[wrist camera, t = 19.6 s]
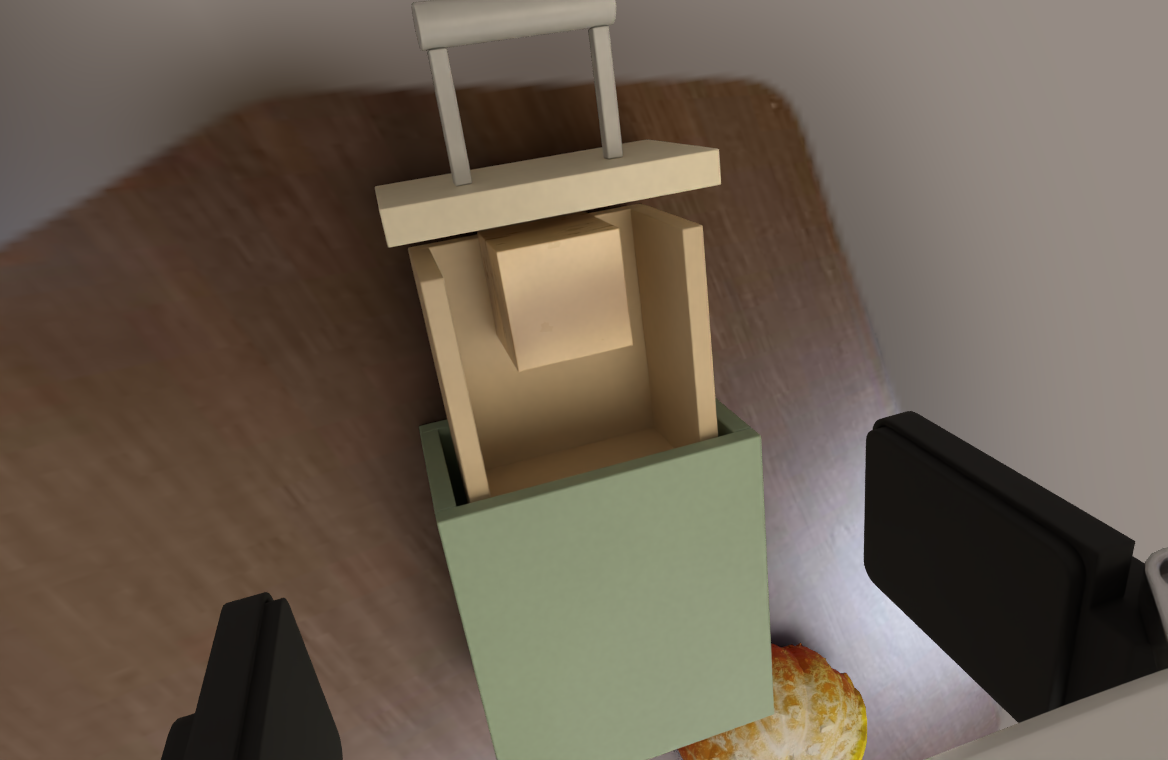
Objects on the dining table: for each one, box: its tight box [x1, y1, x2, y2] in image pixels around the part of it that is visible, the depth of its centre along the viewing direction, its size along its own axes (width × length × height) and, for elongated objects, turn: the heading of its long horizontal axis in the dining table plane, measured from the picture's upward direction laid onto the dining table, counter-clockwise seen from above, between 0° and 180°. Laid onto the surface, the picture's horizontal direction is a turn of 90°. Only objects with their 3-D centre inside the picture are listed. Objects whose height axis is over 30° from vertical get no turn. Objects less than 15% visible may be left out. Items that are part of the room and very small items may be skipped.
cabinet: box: [419, 398, 774, 760], centre depth 34 cm, size 15×13×9 cm
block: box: [477, 211, 633, 372], centre depth 29 cm, size 4×4×4 cm
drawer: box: [375, 0, 721, 504], centre depth 28 cm, size 19×11×7 cm, turn 8°
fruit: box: [678, 643, 867, 760], centre depth 43 cm, size 11×10×8 cm
